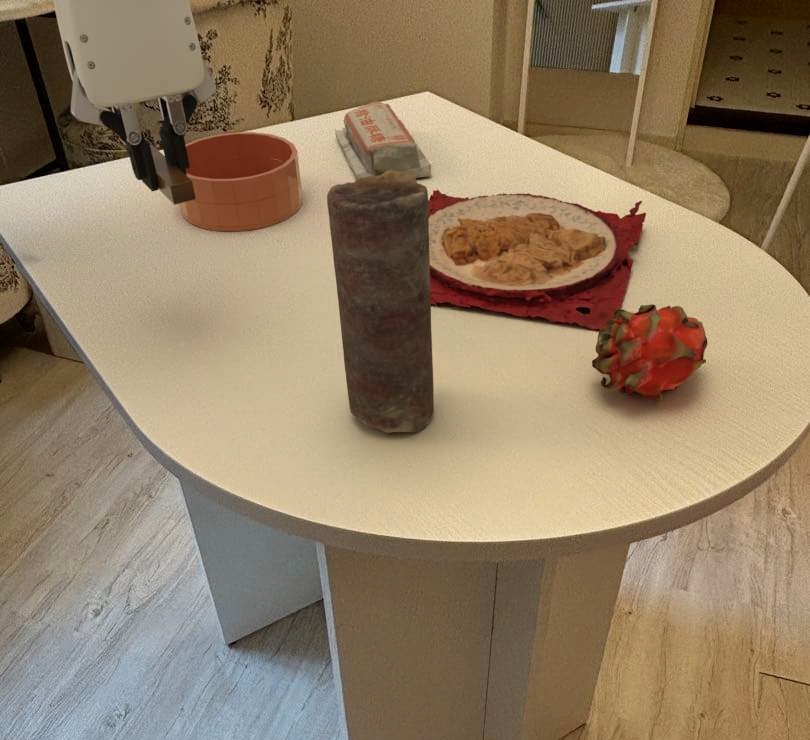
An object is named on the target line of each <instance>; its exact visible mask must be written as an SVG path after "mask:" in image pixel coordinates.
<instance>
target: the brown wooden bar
mask: <svg viewBox="0 0 810 740" xmlns="http://www.w3.org/2000/svg"><path fill="white" fill-rule="evenodd" d="M149 145H150V147H151V152H152V156H153V160H154V164H155V168H156V177H157V181H158V185H159V188H158V191H159V192H161V194H162V195H164V196H165V198H166V199H168V200H169V202H171V203H172V204H173V205H175V206H176V205H179V203H183V202H187V201H191V200H195V199H196V197H195V192H194V187H193V182H192V180H191V179H190V178H188V177H187V176H186V175H185V174H184V173H183V172H182V171H181V170H180V169H178V168H177V167H176V166H175V165H174V164H173V163H172V162H170V161H169V160H168V159H167V158H166V157H165V155H164V154H163V153H162V152H161V151H160V150H159V149H158V148H157V147H156V146H154V145H153V144H149Z"/></svg>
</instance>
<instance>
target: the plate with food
mask: <svg viewBox="0 0 810 740" xmlns="http://www.w3.org/2000/svg"><path fill="white" fill-rule="evenodd" d="M642 203H643V201H642V200H639V201H638V202H635V203H634V207H632V208H631V209H629V214H626V215H625V214H624V216H622V217H620V216H619V214H617V213H613V212H604V211H601V210H597V211H595V210H593V209H589V208H588V207H586V206H583V205H582V204H579V203H574V202H568V201H562V200H559V199H557V198H555V197H549V196H545V195H540V194H539V195H536V194H531V193H523V192H522V193H520V192H518V193H497V194H492V195H478V196H474V197H471V198H470V197H469V196H467V197H459V196H458V197H457V196H451V195H447V194H446V193H441V191H440V190H439V189H436V190H433V191H432V194H430V197H429V198H428V217H429V253H430V300H431V305H435V306H438V303H439V304H443V303H448V304H451V305H452V306H453V305H456V306H458V307H465V308H472V306H473V307H478V308H481V309H484V310H488V311H489V310H490V311H493V312H499V313H506V314H510V315H513V316H515V317H525V318H527V317H529V316H530V317H531V318H536V317H541V318H545V319H547V320H548V321H549V322H553V323H557V322H560V323H569V324H570V325H572V324H573V323H576V324H577V325H578V326H580V327H586V328H588V329H590V330H599V331H600V330H602V329H603V328H605V325H606V322H607V321H608V320H612V319H613V314H614V311H615V310H616V309H622V307H623V302H624V299H625V295H626V292H627V289H628V288H627V287H628V284H629V281H630V276H631V273H632V269H633V264H634V259H633V258H630V257H629V256H628V253H629V252H630V251H631V250H632V248H633V246H636V247H638V246H639V243H640V239H641V235H642V232H643V227H644V224H643V223H645V221H646V217H647V212H642V213H638V212H639V210H640V205H642ZM637 213H638V214H637ZM578 308H588V309H589V312H590V313H588V314H583V313H581V312H580V311H578V310H577V309H578Z"/></svg>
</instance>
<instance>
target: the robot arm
mask: <svg viewBox="0 0 810 740" xmlns="http://www.w3.org/2000/svg"><path fill="white" fill-rule="evenodd" d="M53 6H54V12H55V16H56V21H57V26H58V30H59V35H60V39H61V43H62V47H63V52H64V57H65V61H66V64H67V68H68V72H69V74H70V75H69V76H70V78H71V81H72V87H71V100H70V113H71V115H73V117H74V118H75V119H76V120H77V121H78V122H83V123H87V124H91V125H97V126H101V127H102V126H103V127H106V128H107V129H109V130H110V131H111V132H113V133H115V134H116V135H118V136H119V137H120V138H122V139H124V141H125V145H126V148H127V153H128V157H129V160H130V165H131V168H132V171H133V175H134V177H135V178H136V179H137V180H138V181H142V183H143V184H144V185H145V186H146V187H147V188H148V189H149V190H150V191H151V192H156V191H159V189H158V188H159V185H158V181H157V177H156V168H155V164H154V160H153V156H152V152H151V147H150V145H151V144H150V143H149V142H148V141H147V140H146V139H145V137H144V134H143V133H142V132H141V129H140V125H139V119H138V115H137V111H136V108H135V104H136V103H141V102H146V101H151V100H156V99H157V102H158V105H159V111H160V114H161V120H162V122H161V126H160V127H159V128H160V129H159V131H158V132H159V137H160V141H161V146H162V150H163V153H164V154H163V155H164V156H165V157H166V158H167V159H168V160H169V161H170V162H172V163H173V164H174V165H175V166H176V167H177V168H178V169H180V170H181V171H182V172H183V173H184V174H185V175H186V176H187V174H186V169H188V168H190V164H189V159H188V154H187V150H186V145H185V144H186V140H185V136H184V135H185V134H186V132H187V131H188V123H189V122H190V120H191V118H192V116H193V114H194V113H195V111H196V110H197V107H198V106H199V105H200V104H202V103H204V102H205V101H206V100H208V99H209V98H210V97H211V96H213V95H214V94H215V93H216V92H217V85H216V83H215V81H214V79H213V77H212V76H211V75H210V73H209V71H208V69H207V67H206V66H205V64H204V60H203V55H202V50H201V44H200V41H199V36H198V31H197V27H196V24H195V20H194V19H195V18H194V16H193V12H192V9H191V4H190V2H189V0H53ZM109 108H111V109H109Z"/></svg>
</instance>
